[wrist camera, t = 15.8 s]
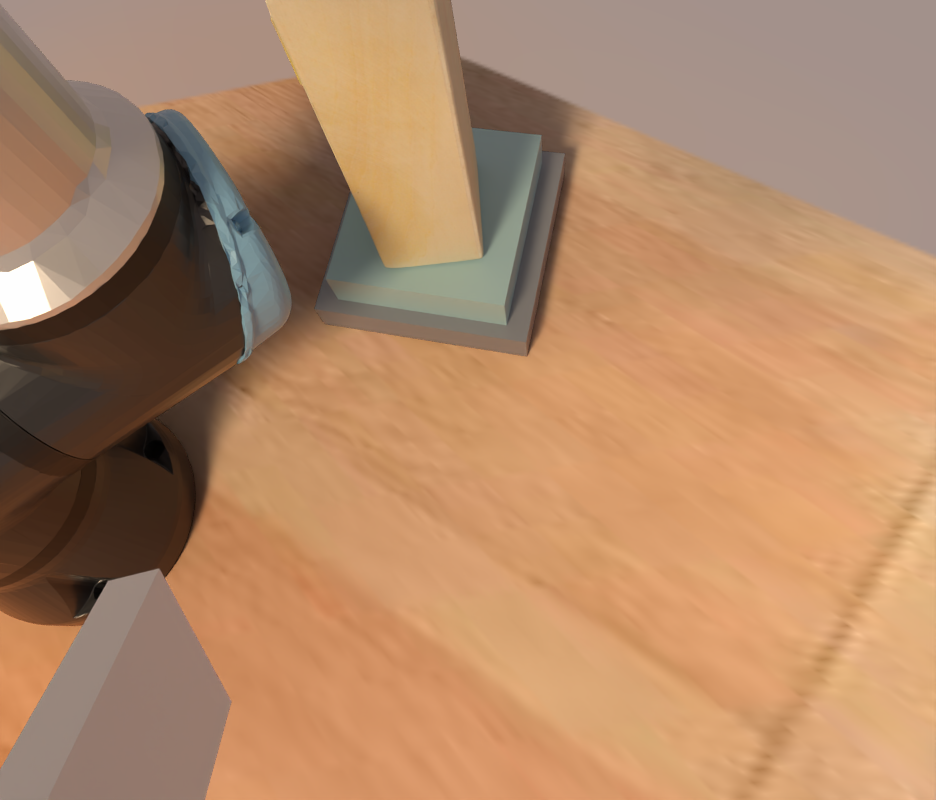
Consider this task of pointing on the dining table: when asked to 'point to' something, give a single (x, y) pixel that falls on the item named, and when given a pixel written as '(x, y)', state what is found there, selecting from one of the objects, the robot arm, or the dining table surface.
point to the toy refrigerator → (392, 119)
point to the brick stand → (464, 282)
